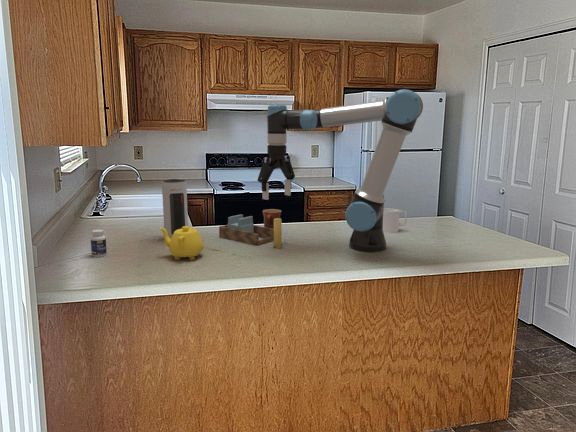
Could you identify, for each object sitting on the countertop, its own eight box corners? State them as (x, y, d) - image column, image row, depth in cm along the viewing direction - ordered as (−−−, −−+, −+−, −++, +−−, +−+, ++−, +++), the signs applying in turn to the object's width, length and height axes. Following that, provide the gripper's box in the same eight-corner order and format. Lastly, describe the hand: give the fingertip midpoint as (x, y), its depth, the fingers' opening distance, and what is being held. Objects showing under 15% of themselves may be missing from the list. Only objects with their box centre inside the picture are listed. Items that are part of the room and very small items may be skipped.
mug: (265, 229, 231) (265, 208, 229) (283, 230, 229) (283, 209, 227) (258, 235, 219) (258, 213, 217) (277, 237, 218) (277, 214, 216)
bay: (275, 243, 207) (276, 229, 206) (257, 248, 198) (257, 234, 197) (238, 234, 221) (238, 222, 219) (219, 239, 211) (219, 226, 210)
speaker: (163, 242, 207) (160, 181, 201) (164, 236, 217) (162, 178, 211) (188, 241, 209) (186, 180, 203) (188, 235, 219) (186, 177, 213)
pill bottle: (97, 258, 183) (96, 232, 181) (88, 255, 186) (86, 231, 184) (109, 254, 188) (108, 230, 186) (100, 252, 190) (99, 228, 188)
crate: (253, 236, 212) (253, 216, 210) (240, 240, 206) (240, 219, 204) (240, 233, 217) (240, 214, 215) (227, 237, 211) (227, 217, 209)
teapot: (190, 249, 196) (189, 220, 194) (211, 256, 186) (210, 226, 184) (159, 256, 187) (158, 226, 184) (180, 264, 177) (179, 232, 174)
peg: (282, 247, 200) (283, 218, 198) (277, 248, 198) (278, 220, 196) (276, 246, 202) (277, 217, 200) (271, 247, 200) (272, 219, 198)
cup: (407, 233, 227) (408, 212, 225) (381, 232, 229) (382, 211, 227) (405, 229, 235) (406, 208, 233) (380, 228, 237) (381, 208, 235)
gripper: (289, 142, 205) (289, 192, 209) (248, 145, 186) (248, 200, 190) (303, 143, 200) (303, 194, 204) (262, 146, 181) (262, 202, 185)
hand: (276, 197), depth 197 cm, fingers open, 13 cm apart
